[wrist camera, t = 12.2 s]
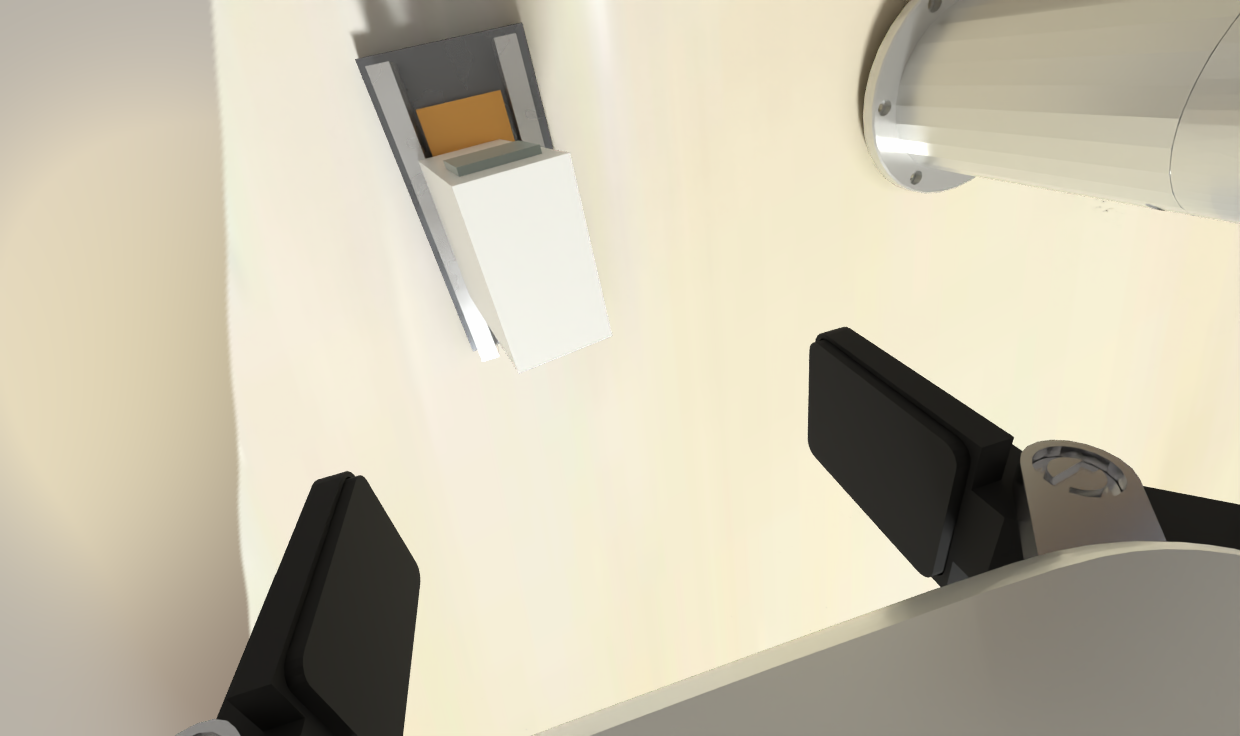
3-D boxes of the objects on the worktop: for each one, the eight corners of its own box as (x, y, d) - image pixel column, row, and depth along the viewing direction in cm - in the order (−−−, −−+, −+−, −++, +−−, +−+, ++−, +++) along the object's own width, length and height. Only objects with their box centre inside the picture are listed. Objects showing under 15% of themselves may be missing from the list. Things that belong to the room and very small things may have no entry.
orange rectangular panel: (499, 89, 25) (500, 90, 24) (557, 294, 31) (560, 300, 30) (417, 109, 24) (415, 110, 23) (492, 313, 30) (492, 320, 29)
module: (497, 132, 25) (567, 143, 17) (538, 272, 29) (612, 335, 20) (415, 154, 24) (448, 176, 16) (469, 296, 27) (518, 374, 19)
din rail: (520, 24, 26) (527, 15, 22) (591, 309, 34) (604, 333, 31) (359, 60, 25) (342, 56, 21) (472, 344, 33) (473, 372, 30)
